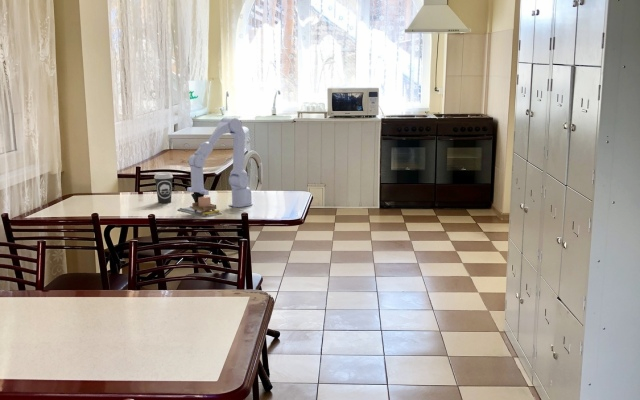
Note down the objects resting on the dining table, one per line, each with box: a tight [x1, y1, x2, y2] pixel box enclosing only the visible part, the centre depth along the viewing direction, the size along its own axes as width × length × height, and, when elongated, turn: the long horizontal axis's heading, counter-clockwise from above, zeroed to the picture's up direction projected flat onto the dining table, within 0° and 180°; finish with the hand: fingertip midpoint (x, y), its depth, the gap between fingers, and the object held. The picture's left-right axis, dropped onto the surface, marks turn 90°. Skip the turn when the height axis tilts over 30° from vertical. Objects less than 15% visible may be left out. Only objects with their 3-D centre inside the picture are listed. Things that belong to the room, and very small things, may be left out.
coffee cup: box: [153, 171, 174, 204], centre depth 349 cm, size 10×10×15 cm
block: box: [198, 195, 212, 207], centre depth 321 cm, size 4×4×5 cm
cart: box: [191, 202, 217, 212], centre depth 322 cm, size 8×8×4 cm
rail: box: [177, 205, 223, 218], centre depth 325 cm, size 9×23×2 cm, turn 46°
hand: (198, 208), depth 325 cm, fingers closed
